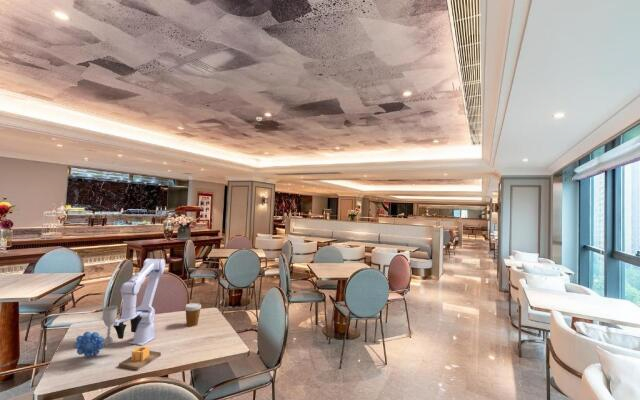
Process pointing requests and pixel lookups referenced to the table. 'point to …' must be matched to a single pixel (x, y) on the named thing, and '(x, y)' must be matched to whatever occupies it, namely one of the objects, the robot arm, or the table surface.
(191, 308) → the disposable coffee cup
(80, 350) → the grapes
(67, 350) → the table surface
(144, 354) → the orange hollow frame block
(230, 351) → the table surface
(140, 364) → the keeper base
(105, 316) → the chalice
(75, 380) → the table surface
